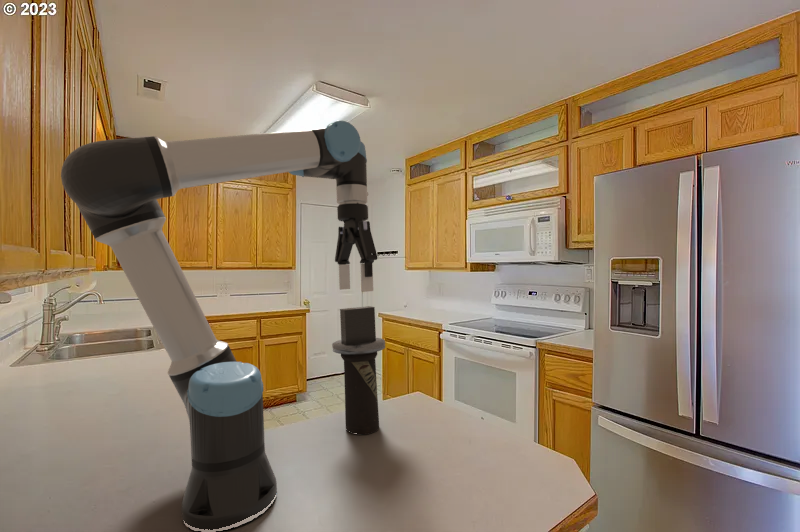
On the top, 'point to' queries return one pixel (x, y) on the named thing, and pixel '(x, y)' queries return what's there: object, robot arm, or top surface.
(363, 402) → the container
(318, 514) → the top surface
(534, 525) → the top surface
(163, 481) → the top surface
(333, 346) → the lid
